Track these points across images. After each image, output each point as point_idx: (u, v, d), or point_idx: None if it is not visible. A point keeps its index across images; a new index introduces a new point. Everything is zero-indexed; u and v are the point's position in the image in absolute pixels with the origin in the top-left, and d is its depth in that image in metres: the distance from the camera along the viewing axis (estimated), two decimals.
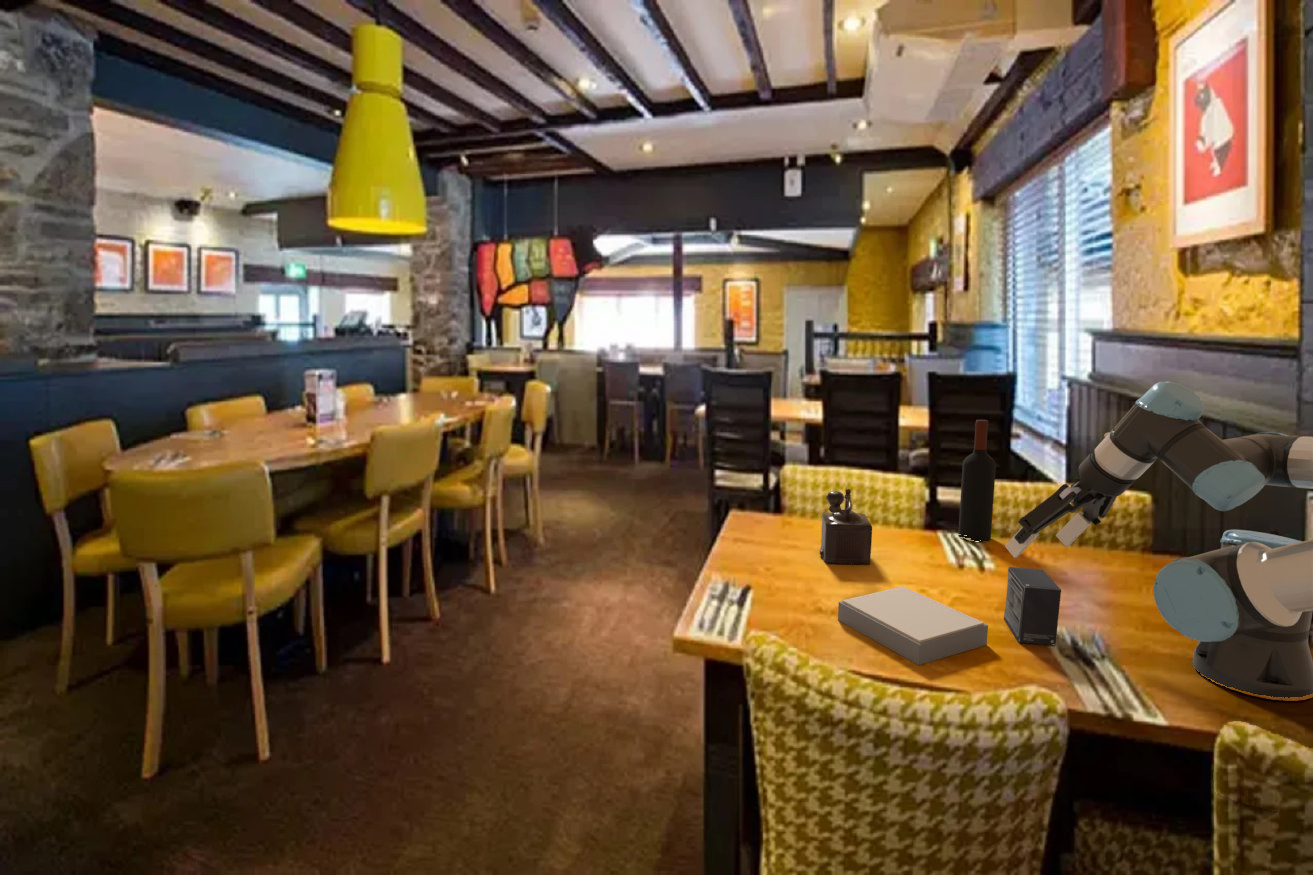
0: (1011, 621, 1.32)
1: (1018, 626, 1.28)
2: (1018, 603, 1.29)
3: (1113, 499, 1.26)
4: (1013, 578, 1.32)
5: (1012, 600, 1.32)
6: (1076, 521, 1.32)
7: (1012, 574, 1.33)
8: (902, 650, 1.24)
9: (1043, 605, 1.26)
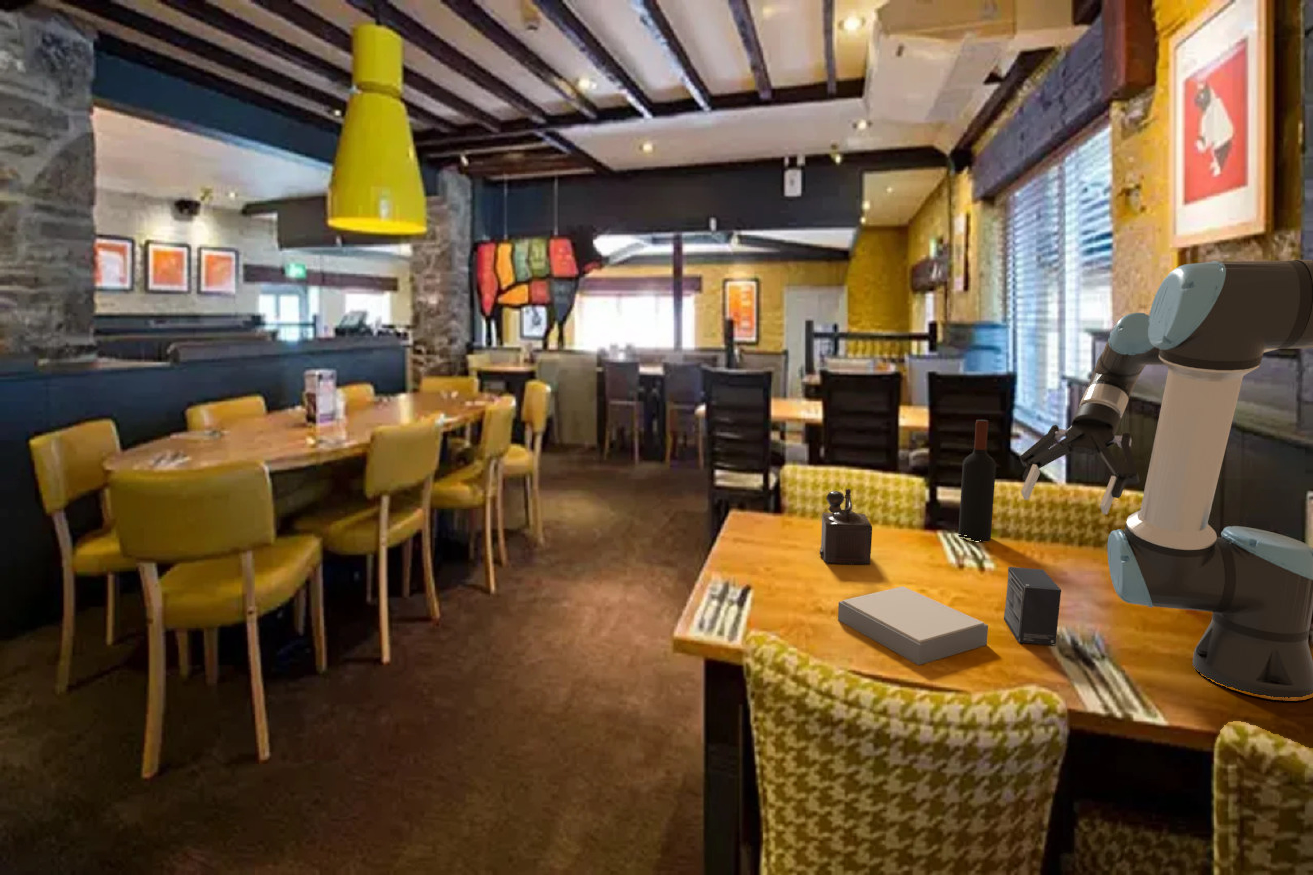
0: (1011, 621, 1.32)
1: (1018, 626, 1.28)
2: (1018, 603, 1.29)
3: (1126, 449, 1.34)
4: (1013, 578, 1.32)
5: (1012, 600, 1.32)
6: None
7: (1012, 574, 1.33)
8: (902, 650, 1.24)
9: (1043, 605, 1.26)
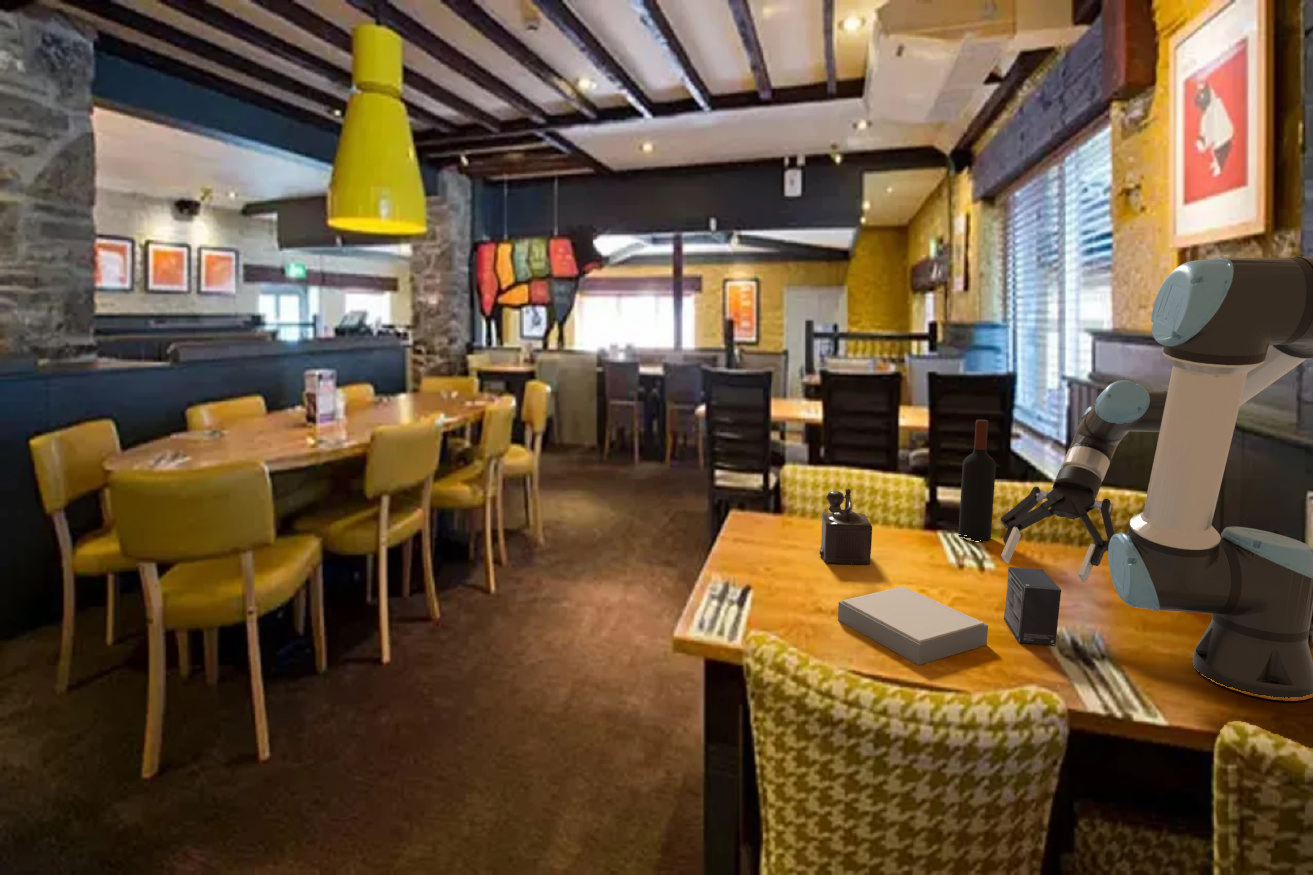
0: (1011, 621, 1.32)
1: (1018, 626, 1.28)
2: (1018, 603, 1.29)
3: (1106, 515, 1.33)
4: (1013, 578, 1.32)
5: (1012, 600, 1.32)
6: None
7: (1012, 574, 1.33)
8: (902, 650, 1.24)
9: (1043, 605, 1.26)
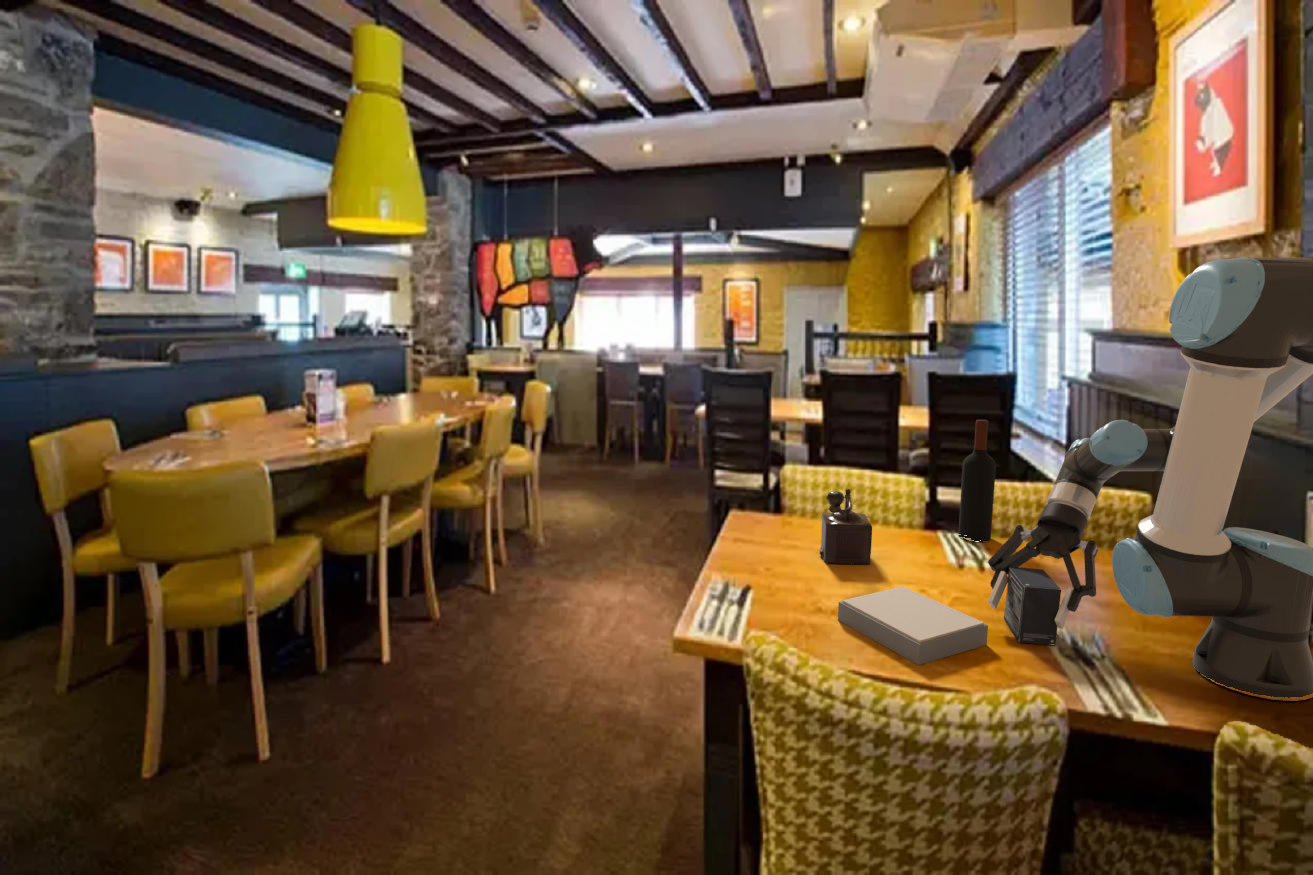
0: (1011, 621, 1.32)
1: (1018, 626, 1.28)
2: (1018, 603, 1.29)
3: (1088, 558, 1.28)
4: (1013, 578, 1.32)
5: (1012, 600, 1.32)
6: None
7: (1012, 574, 1.33)
8: (902, 650, 1.24)
9: (1043, 604, 1.26)
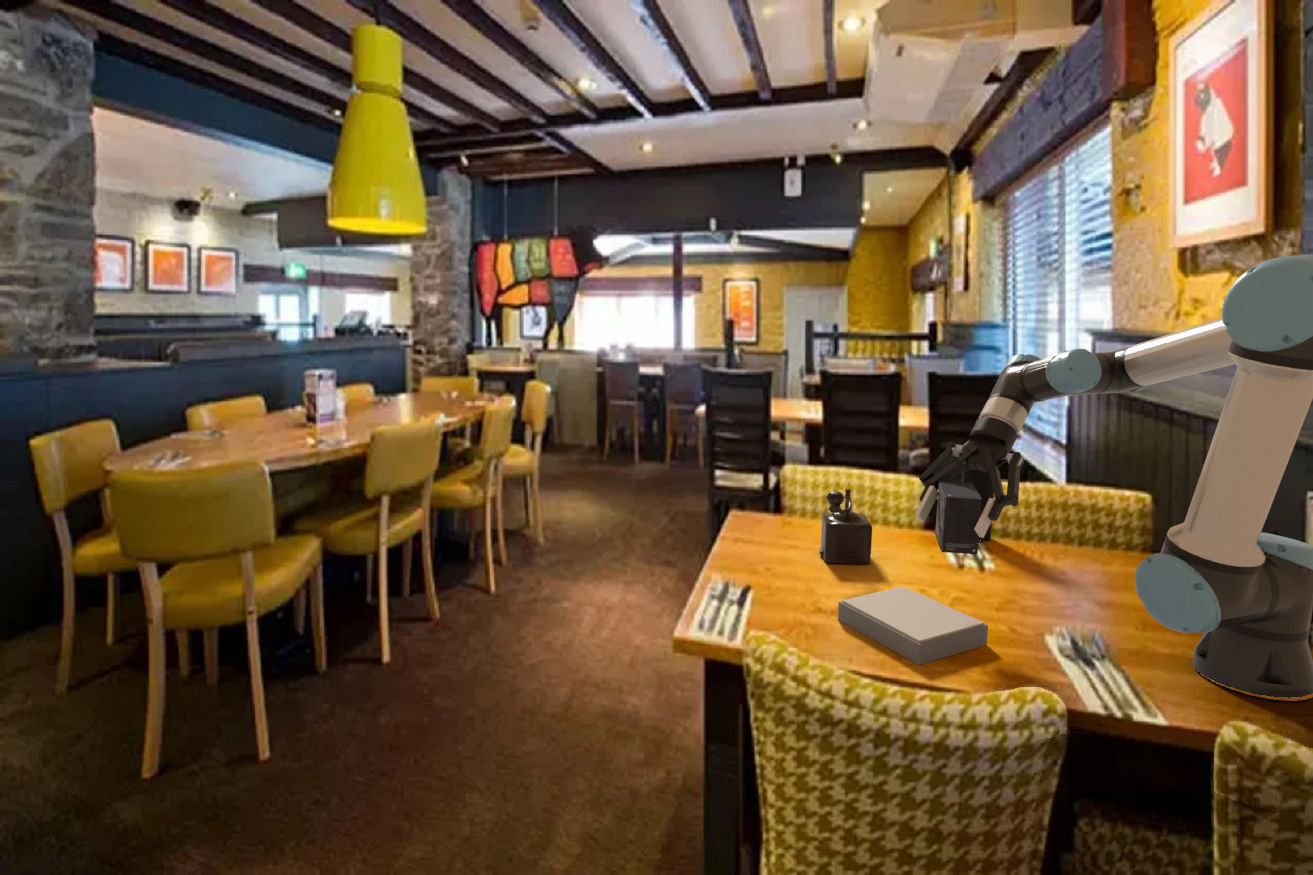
0: (938, 533, 1.34)
1: (941, 537, 1.30)
2: (942, 514, 1.30)
3: (1012, 469, 1.29)
4: (940, 491, 1.34)
5: (939, 512, 1.34)
6: None
7: (939, 487, 1.34)
8: (902, 650, 1.24)
9: (964, 514, 1.27)
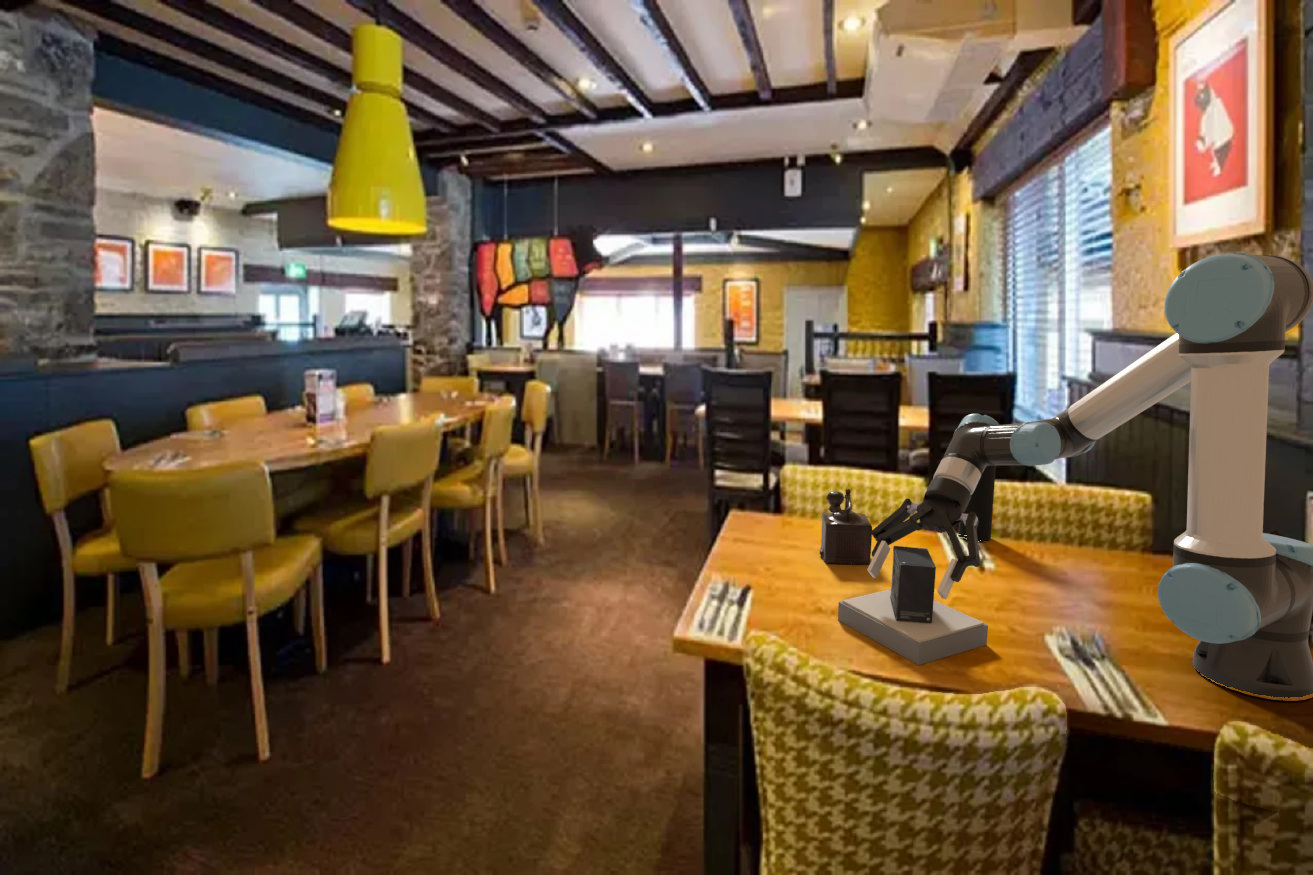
0: (893, 600, 1.33)
1: (896, 604, 1.28)
2: (896, 581, 1.29)
3: (970, 529, 1.28)
4: (895, 556, 1.32)
5: (894, 578, 1.32)
6: None
7: (894, 553, 1.33)
8: (902, 650, 1.24)
9: (918, 582, 1.26)
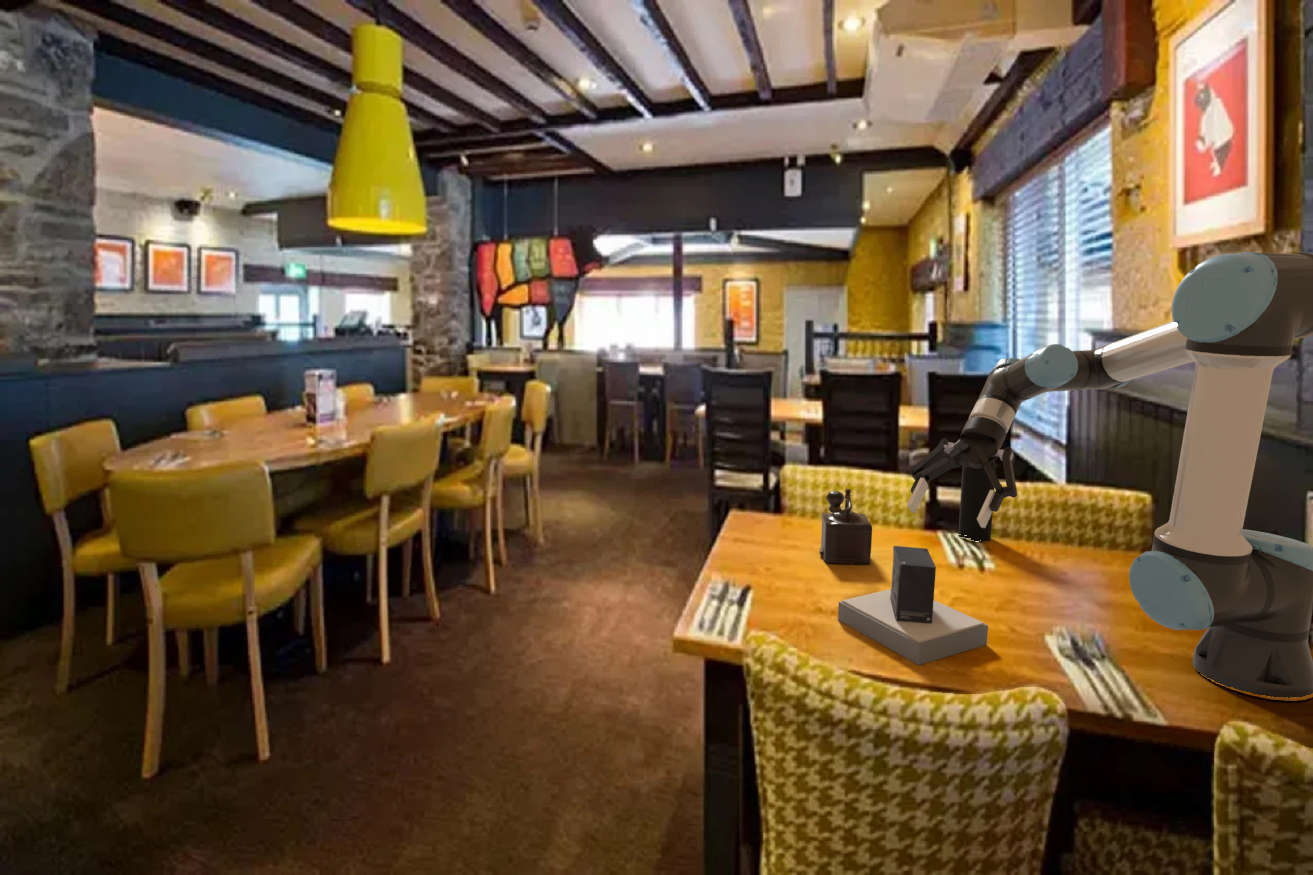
0: (893, 600, 1.32)
1: (896, 604, 1.28)
2: (896, 581, 1.29)
3: (1006, 463, 1.35)
4: (895, 556, 1.32)
5: (894, 578, 1.32)
6: None
7: (894, 553, 1.33)
8: (902, 650, 1.24)
9: (918, 582, 1.26)
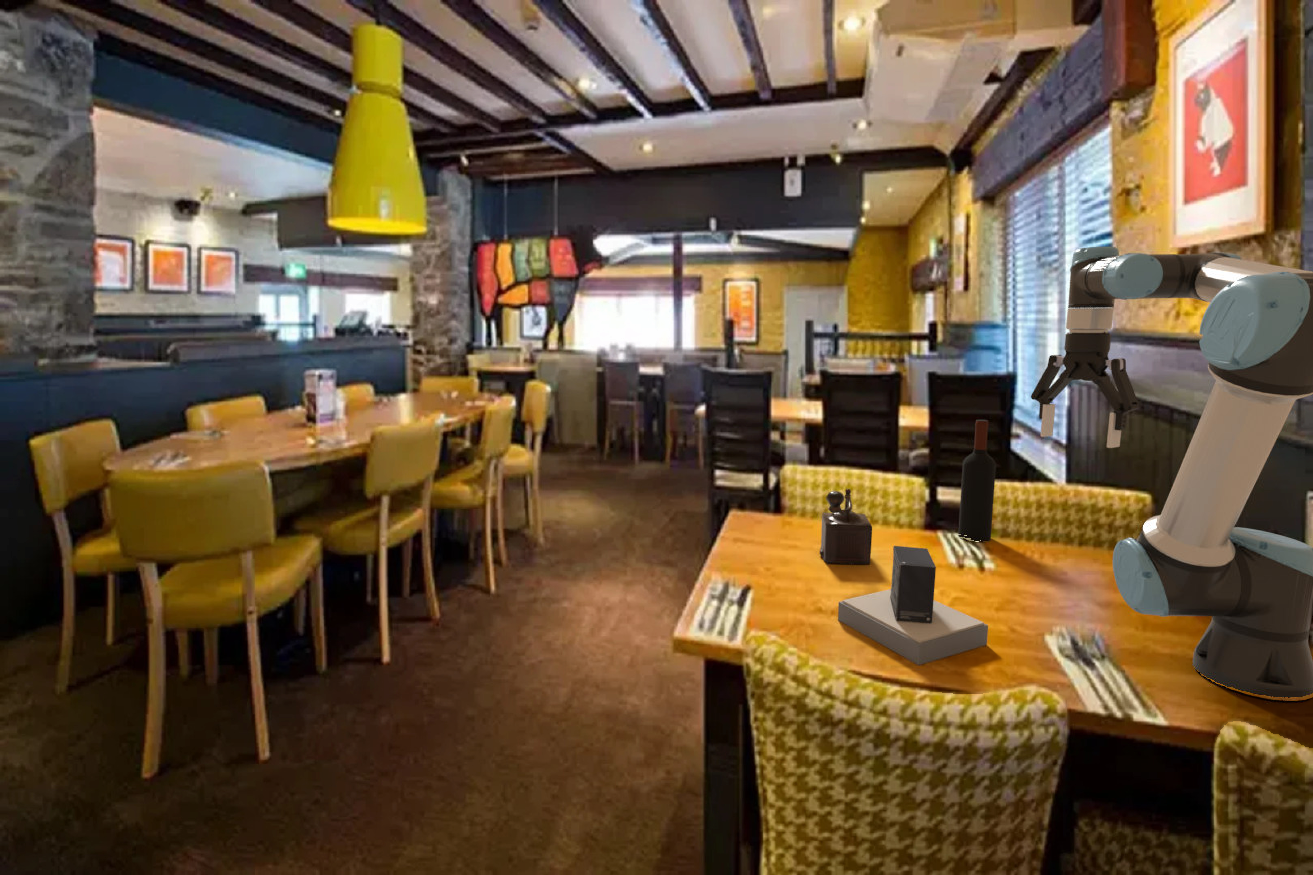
0: (893, 599, 1.32)
1: (896, 604, 1.28)
2: (896, 581, 1.29)
3: (1117, 378, 1.34)
4: (895, 556, 1.32)
5: (894, 578, 1.32)
6: None
7: (894, 553, 1.33)
8: (902, 650, 1.24)
9: (918, 582, 1.26)
